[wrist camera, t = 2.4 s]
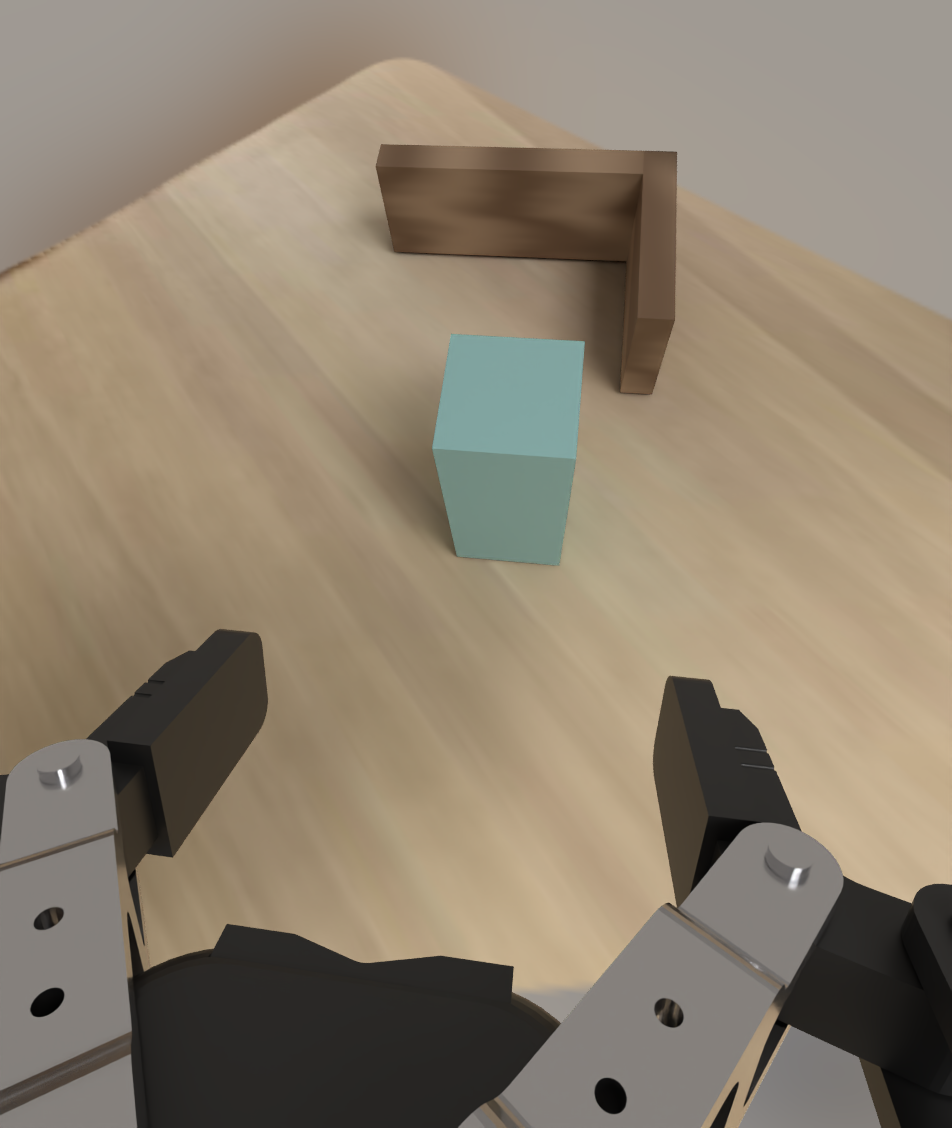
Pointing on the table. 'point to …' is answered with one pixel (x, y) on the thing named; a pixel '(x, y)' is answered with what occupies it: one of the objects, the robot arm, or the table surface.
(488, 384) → the teal block
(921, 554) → the table surface
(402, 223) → the walnut corner
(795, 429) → the table surface
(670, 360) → the table surface
